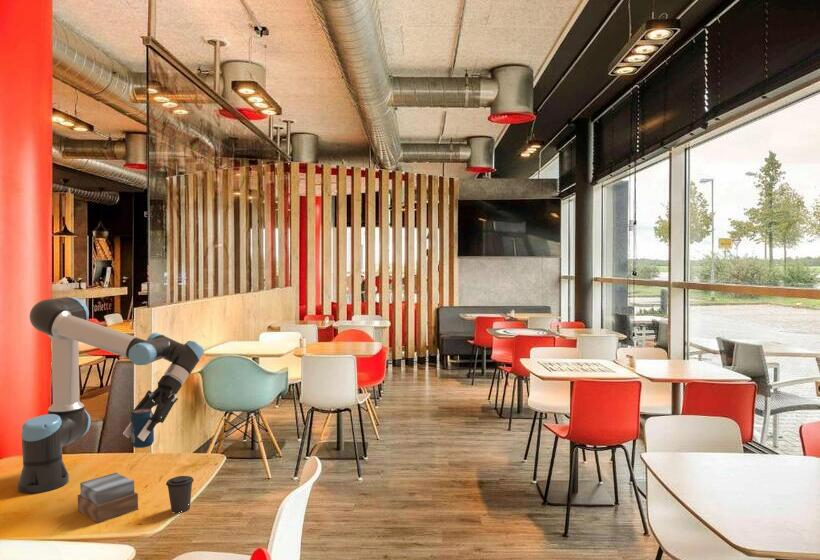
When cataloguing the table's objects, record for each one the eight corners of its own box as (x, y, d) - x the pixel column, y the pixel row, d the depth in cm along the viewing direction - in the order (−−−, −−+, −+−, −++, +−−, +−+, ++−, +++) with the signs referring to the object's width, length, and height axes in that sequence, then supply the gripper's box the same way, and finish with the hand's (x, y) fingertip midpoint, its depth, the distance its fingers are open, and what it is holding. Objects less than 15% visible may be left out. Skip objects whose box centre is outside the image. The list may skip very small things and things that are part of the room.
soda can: (158, 442, 202) (157, 408, 202) (145, 449, 195) (145, 413, 195) (139, 441, 203) (139, 407, 203) (126, 448, 197) (126, 412, 196)
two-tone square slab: (78, 511, 183) (77, 482, 183) (117, 498, 193) (116, 471, 193) (98, 523, 175) (97, 493, 174) (138, 509, 184) (137, 481, 184)
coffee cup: (185, 516, 179) (184, 483, 178) (161, 514, 180) (160, 482, 180) (199, 505, 187) (198, 474, 186) (176, 503, 188) (175, 472, 188)
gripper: (198, 388, 207) (160, 447, 194) (160, 383, 217) (121, 438, 203) (186, 376, 203) (145, 435, 189) (147, 371, 212) (106, 427, 198)
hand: (133, 437), depth 196 cm, fingers closed on soda can, 7 cm apart
